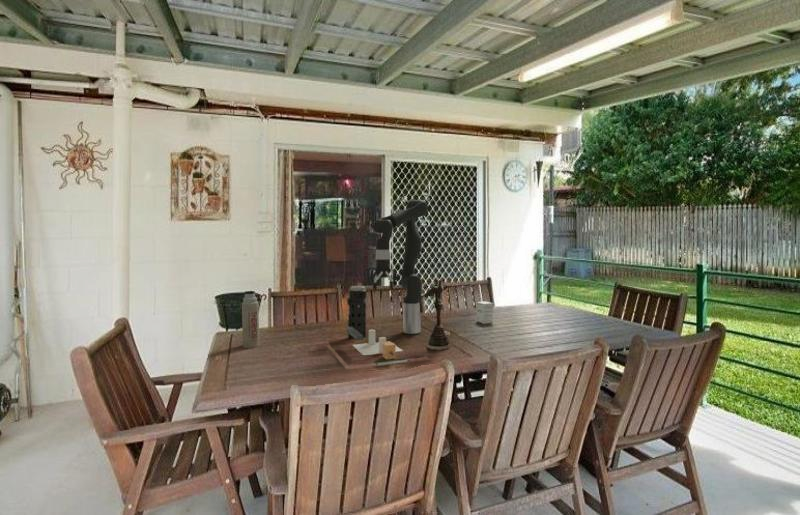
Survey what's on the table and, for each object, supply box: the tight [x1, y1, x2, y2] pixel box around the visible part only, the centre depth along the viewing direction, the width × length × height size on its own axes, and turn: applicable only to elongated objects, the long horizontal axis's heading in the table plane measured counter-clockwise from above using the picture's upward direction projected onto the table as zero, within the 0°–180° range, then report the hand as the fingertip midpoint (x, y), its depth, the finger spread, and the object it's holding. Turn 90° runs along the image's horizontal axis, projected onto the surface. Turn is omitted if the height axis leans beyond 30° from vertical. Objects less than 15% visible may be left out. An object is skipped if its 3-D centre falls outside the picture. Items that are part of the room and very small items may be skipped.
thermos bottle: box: [241, 290, 260, 349], centre depth 234 cm, size 8×8×28 cm
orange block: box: [382, 341, 396, 361], centre depth 208 cm, size 4×8×7 cm, turn 21°
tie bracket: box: [352, 328, 404, 356], centre depth 226 cm, size 20×19×8 cm
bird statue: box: [420, 279, 451, 351], centre depth 234 cm, size 17×13×35 cm
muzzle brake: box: [346, 285, 368, 340], centre depth 250 cm, size 10×28×10 cm
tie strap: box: [345, 326, 364, 341], centre depth 221 cm, size 3×19×2 cm, turn 21°
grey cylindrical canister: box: [476, 301, 494, 325], centre depth 288 cm, size 7×7×13 cm
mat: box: [374, 358, 408, 367], centre depth 210 cm, size 14×10×1 cm
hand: (382, 289), depth 239 cm, fingers open, 8 cm apart
